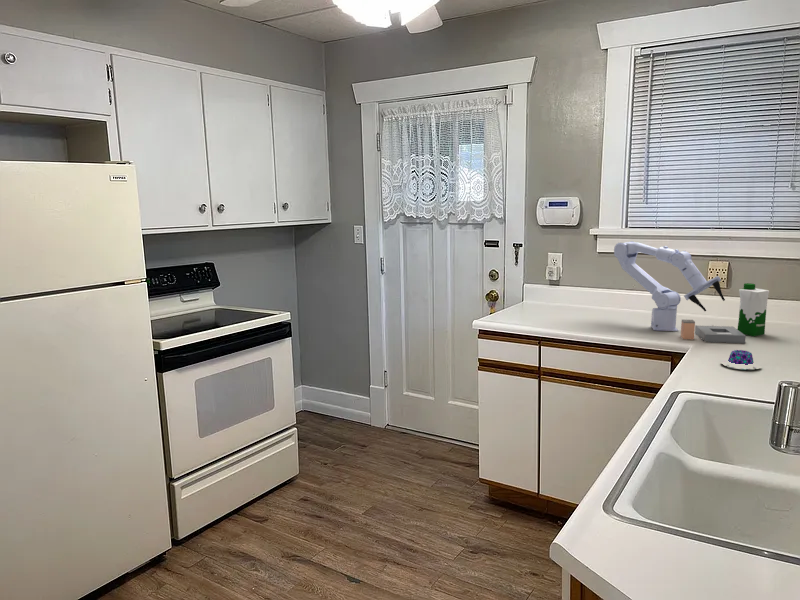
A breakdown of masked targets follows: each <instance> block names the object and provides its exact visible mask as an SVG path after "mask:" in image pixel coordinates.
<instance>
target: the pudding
mask: <svg viewBox="0 0 800 600" xmlns="http://www.w3.org/2000/svg"><path fill="white" fill-rule="evenodd" d="M727 360H728V361H729V362H731V363H735V364H745V365H748V364H753V363H755V362H754V358H753V354H752V352H750V351H748V350H742V349H734V350H731V352H730V355H729V357H728V359H727Z"/></svg>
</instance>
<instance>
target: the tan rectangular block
mask: <svg viewBox="0 0 800 600" xmlns="http://www.w3.org/2000/svg"><path fill="white" fill-rule="evenodd" d="M680 324H681V325H680V338H681V337H682V338H683V339H682V338H681V339H682V340H694V339H695V325H696V320H693V319H681V323H680Z"/></svg>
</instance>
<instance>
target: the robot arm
mask: <svg viewBox="0 0 800 600" xmlns="http://www.w3.org/2000/svg"><path fill="white" fill-rule="evenodd" d="M639 253H642V254H645V255H649V256H653V257H655V258H656V261H657V260H658V261H661V262H664V263H668V264H671V265H672V266H673V267H676V268H678V270H679V271H680V272H681V274H682V276H684V278H685V280H686V281H687V283H688V284H689V285H690V287H691V288H692V289H691V290H690V291H689V292H687V293H685V295H683V297H684V298H685V300H686V301H691V302H692V303H694V304H696V305H697V306H698V307H700V308H701V309H702V310H703V311H704V312H706V311H707V309H706V307H705V306H704V305H703V304H702V303H701V301H700V300H699V299H698V297H697V295H698V294H700V293H702V292H703V291H705V290H707V289H709V288H710V287H713V288H714V289H715V290H716V292H717V294H718V295H719V297H720V298H721V300H722V301H723V302H724V301H726V298H725V297H724V295H723V292H722V289H721V284H720V282H721V281H722V279H721V277H720V276H719V275H717V276H715V277H713V278H711V279H709V280H707V279H706V278H705V277H704V275H703V274H702V272H701V271H700V270H699V269H698V267H697V266H696V264H695V263H694V262H693V259H692V254H691V253H690V252H688V251H686V250H682V251H679V249H677V248H675V249H673V248H669V246H668V245H664V246H660V247H654V246H652V245H648V244H645V243H642V242H638V241H636V242H635V241H626V242H618V243H616V244H615V245H614V249H613V256H614V257H615V258H616V259H617V261H618V263H619V264H620V267H621V269H622V270H623V271H624V272H626V274H627V275H629V277H631V278H632V279H633V280H635V281H636V282H637V283H638V284H639V285H640V286H642V287H643V289H645V290H646V291H647V292H649V294H651V299H652V300H653V301H654V303H655V305H656V306H657V307H654V308H652V310H651V319H650V322H651V323H650V327H651V328H652V330H653V331H659V332H660V331H665V332H666V331H667V332H672V331H673V332H679V329H678V328H677V327H676V326H677V313H678V305H679V304H680V303H681V301H682V300H681V295H680V294H679V292H677V291H675V290H671V289H670V288H668V287H667V286H663V285H662V284H661V283H659V282H658V281H657V280H656V279H655V278H654V277H652V276H651V275H650V274H648V272H646V271H645V270H644V269H643V268H642V267H640V266H639V265H638V264H637V263H636V260H637V256H638V254H639Z"/></svg>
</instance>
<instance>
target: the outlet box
mask: <svg viewBox="0 0 800 600" xmlns="http://www.w3.org/2000/svg"><path fill="white" fill-rule="evenodd" d="M737 329H738V328H735V327H734V326H729V325H728V326H726V325H721V326H720V325H696V324H695V331H694V334H695V335H697V336H698V337H699V338H700V339H701V338H702V339H703V340H704V341H708V342H707V343H719V342H726V343H727V344H746V339H747V338H746V337H747V335H744V334H743V333H741V332H740V331H739V330H737ZM702 339H701V340H702ZM703 340H702V341H703ZM704 341H703V342H704Z"/></svg>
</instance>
